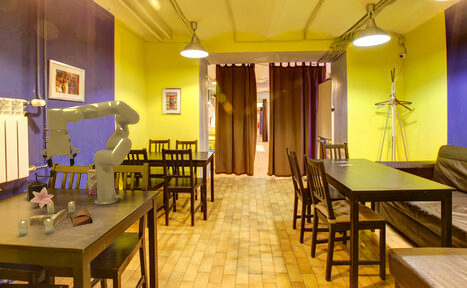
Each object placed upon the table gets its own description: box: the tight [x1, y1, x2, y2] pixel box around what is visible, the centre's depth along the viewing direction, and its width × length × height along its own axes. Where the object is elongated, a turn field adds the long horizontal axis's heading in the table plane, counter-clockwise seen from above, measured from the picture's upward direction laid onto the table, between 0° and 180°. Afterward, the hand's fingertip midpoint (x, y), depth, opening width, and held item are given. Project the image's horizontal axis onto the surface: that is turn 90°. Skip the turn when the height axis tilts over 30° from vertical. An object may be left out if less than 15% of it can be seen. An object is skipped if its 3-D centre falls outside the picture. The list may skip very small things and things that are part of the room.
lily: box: [29, 188, 54, 209], centre depth 154 cm, size 12×12×10 cm
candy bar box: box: [86, 169, 97, 196], centre depth 177 cm, size 11×5×16 cm, turn 86°
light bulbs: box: [17, 200, 76, 237], centre depth 127 cm, size 13×29×6 cm, turn 12°
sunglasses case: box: [69, 207, 94, 228], centre depth 132 cm, size 18×7×7 cm, turn 38°
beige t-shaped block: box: [29, 208, 68, 229], centre depth 128 cm, size 4×16×12 cm
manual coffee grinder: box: [25, 169, 57, 202], centre depth 170 cm, size 16×11×18 cm
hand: (61, 166), depth 135 cm, fingers open, 9 cm apart
